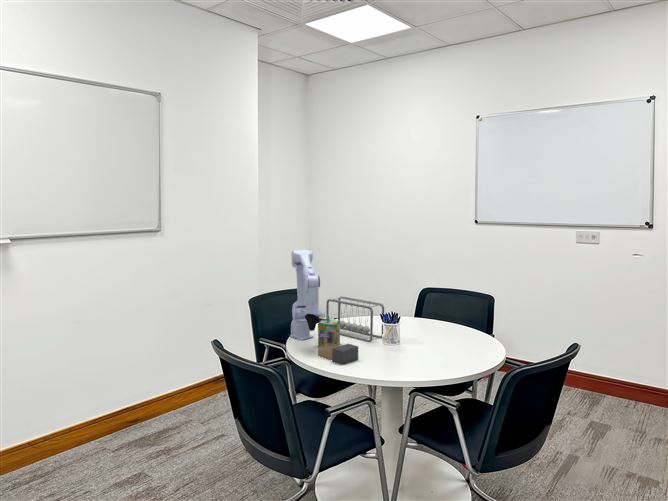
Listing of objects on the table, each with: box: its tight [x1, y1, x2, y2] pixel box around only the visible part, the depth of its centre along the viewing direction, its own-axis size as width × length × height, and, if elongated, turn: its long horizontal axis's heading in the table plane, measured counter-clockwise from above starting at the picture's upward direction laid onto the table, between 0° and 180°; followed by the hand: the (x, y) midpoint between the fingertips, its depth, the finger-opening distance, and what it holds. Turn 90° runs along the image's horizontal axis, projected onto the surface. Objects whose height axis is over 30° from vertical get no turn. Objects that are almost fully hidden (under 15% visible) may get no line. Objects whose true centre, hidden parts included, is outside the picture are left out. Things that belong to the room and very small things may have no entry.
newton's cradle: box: [325, 296, 385, 343], centre depth 261 cm, size 30×10×18 cm, turn 49°
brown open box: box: [317, 343, 340, 361], centre depth 226 cm, size 10×8×4 cm
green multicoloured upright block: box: [317, 314, 341, 347], centre depth 243 cm, size 9×9×15 cm
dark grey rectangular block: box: [332, 343, 359, 366], centre depth 223 cm, size 14×10×6 cm
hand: (312, 330), depth 235 cm, fingers closed
